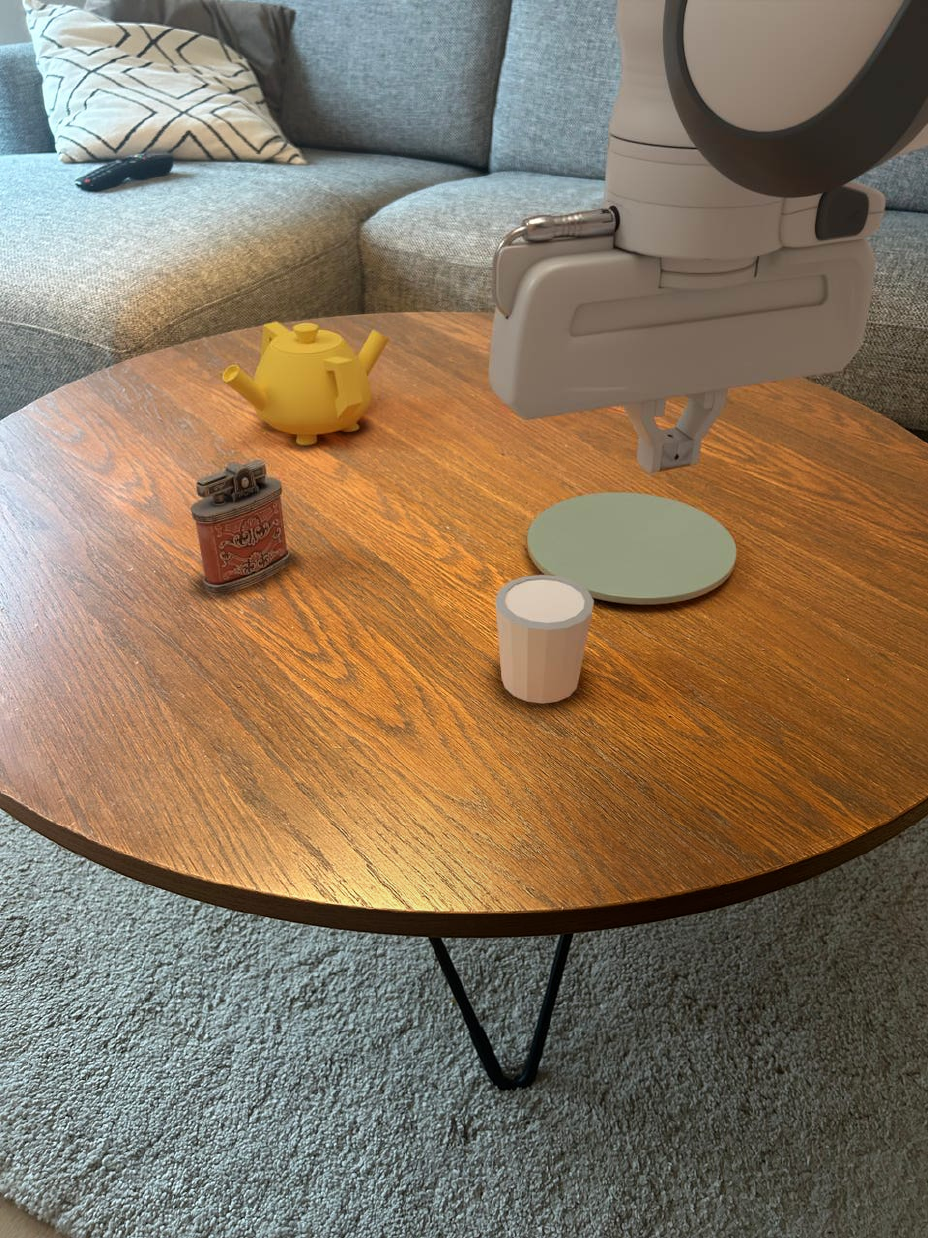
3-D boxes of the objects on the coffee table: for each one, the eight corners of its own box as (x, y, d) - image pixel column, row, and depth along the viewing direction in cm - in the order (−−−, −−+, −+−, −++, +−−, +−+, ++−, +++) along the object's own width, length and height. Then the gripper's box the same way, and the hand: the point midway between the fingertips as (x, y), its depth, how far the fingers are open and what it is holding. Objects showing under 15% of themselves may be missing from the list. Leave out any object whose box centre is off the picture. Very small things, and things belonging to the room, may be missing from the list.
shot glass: (598, 663, 75) (606, 585, 71) (570, 719, 70) (576, 637, 66) (512, 642, 77) (515, 565, 73) (479, 694, 72) (480, 614, 68)
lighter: (275, 549, 89) (262, 445, 83) (298, 563, 87) (286, 458, 81) (196, 584, 84) (176, 476, 78) (218, 600, 82) (200, 490, 76)
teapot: (276, 480, 99) (263, 372, 93) (194, 423, 111) (177, 323, 105) (436, 428, 110) (434, 327, 103) (346, 380, 121) (339, 287, 115)
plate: (776, 589, 84) (779, 574, 83) (579, 631, 79) (580, 615, 78) (669, 493, 97) (671, 479, 97) (496, 523, 93) (496, 509, 92)
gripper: (520, 235, 42) (514, 524, 50) (916, 195, 48) (855, 460, 56) (468, 204, 47) (470, 471, 55) (833, 171, 53) (788, 418, 61)
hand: (666, 465), depth 55 cm, fingers closed
